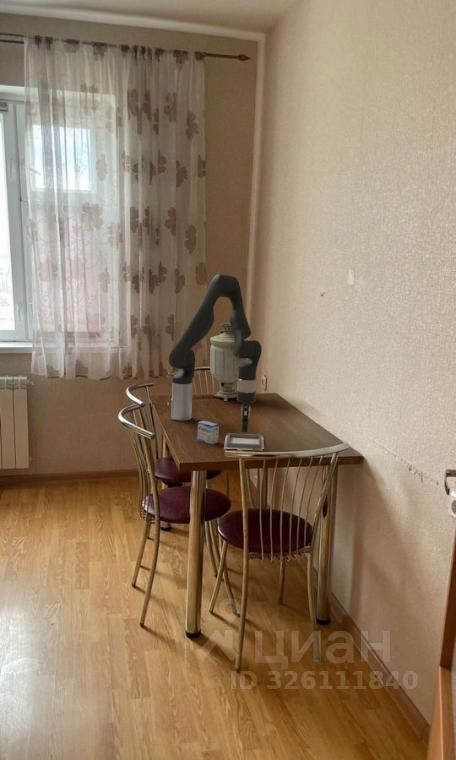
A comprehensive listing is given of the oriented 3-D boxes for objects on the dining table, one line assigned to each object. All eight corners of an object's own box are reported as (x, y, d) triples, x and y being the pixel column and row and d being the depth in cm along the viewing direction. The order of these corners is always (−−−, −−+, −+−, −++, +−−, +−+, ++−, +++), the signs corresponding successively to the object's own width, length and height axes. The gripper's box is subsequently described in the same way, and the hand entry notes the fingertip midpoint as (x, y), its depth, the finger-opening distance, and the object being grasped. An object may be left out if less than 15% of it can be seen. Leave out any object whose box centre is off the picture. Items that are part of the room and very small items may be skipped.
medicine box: (196, 442, 252) (197, 422, 250) (203, 439, 256) (204, 419, 254) (211, 446, 248) (212, 425, 246) (218, 443, 251) (219, 423, 249)
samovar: (264, 404, 317) (268, 328, 308) (216, 406, 310) (218, 328, 301) (246, 391, 345) (249, 320, 336) (201, 392, 337) (203, 320, 329)
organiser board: (223, 451, 242) (223, 444, 242) (225, 438, 259) (226, 431, 258) (263, 453, 242) (264, 446, 241) (263, 439, 258) (263, 433, 258)
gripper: (237, 385, 252) (236, 425, 256) (236, 393, 238) (235, 435, 242) (255, 386, 252) (254, 426, 256) (255, 394, 238) (253, 436, 242)
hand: (244, 430), depth 249 cm, fingers open, 3 cm apart
